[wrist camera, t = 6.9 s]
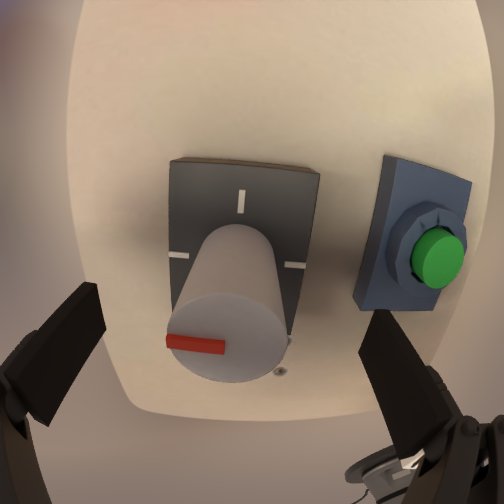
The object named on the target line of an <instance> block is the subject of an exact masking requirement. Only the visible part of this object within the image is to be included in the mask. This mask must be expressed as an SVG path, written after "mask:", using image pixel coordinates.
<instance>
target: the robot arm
mask: <svg viewBox="0 0 504 504" xmlns="http://www.w3.org/2000/svg"><path fill="white" fill-rule="evenodd" d="M105 331H106V325H105V321H104V317H103V313H102V308H101V304H100V299H99V294H98V289H97V284H96V283H90V282H84V283H82V284H81V285H80V286H79V287H78V288H77V289H76V290H75V291H74V292H73V293H72V294H71V295H70V296H69V297H68V298H67V299H66V300H65V301H64V302H63V303H62V304H61V306H60V307H59V308H58V309H57V310H56V311H55V312H54V313H53V314H52V315H51V316H50V317H49V318H48V319H47V321H46V322H45V323H44V324H43V325H42V326H41V327H40V328H39V330H34V331H32V332H31V333H29V334H28V335H26V336H25V337H24V338H23V340H22V341H21V342H20V344H18V345H17V346H16V348H15V350H13V351H12V353H11V354H10V355H9V356H8V357H7V359H6V360H5V361H4V362H3V364H2V365H1V366H0V504H52V502H51V500H50V497H49V495H48V492H47V489H46V486H45V483H44V480H43V477H42V474H41V471H40V468H39V464H38V461H37V457H36V454H35V449H34V446H33V441H32V437H31V432H30V427H29V421H28V419H27V417H26V414H27V413H28V412H29V413H30V414H31V415H32V416H33V418H34V420H36V421H38V422H40V423H42V424H44V425H45V426H47V427H49V425H50V423H51V421H52V419H53V417H54V415H55V413H56V412H57V410H58V408H59V406H60V404H61V402H62V401H63V399H64V397H65V395H66V394H67V392H68V390H69V388H70V387H71V385H72V383H73V382H74V380H75V378H76V377H77V375H78V373H79V372H80V370H81V368H82V367H83V365H84V363H85V362H86V360H87V359H88V357H89V356H90V354H91V352H92V351H93V349H94V348H95V346H96V345H97V343H98V342H99V340H100V338H101V337H102V335H103V334H104V332H105ZM358 354H359V356H360V358H361V361H362V363H363V365H364V368H365V370H366V373H367V375H368V378H369V380H370V383H371V385H372V388H373V390H374V393H375V395H376V398H377V401H378V403H379V406H380V408H381V411H382V414H383V416H384V419H385V422H386V425H387V427H388V430H389V433H390V436H391V438H392V441H393V444H394V447H395V450H396V453H397V455H395V456H393V457H390V458H388V459H386V460H384V461H382V462H380V463H378V464H376V465H374V466H372V467H371V468H369V469H367V470H366V471H365V472H364V473H363V474H362V479H363V482H364V484H365V485H366V486H367V488H368V489H367V490H366V492H365V495H364V496H363V497H362V498H361V499H359V500H358V501H356V502H354V503H352V504H356V503H357V502H359V501H361V500H362V499H363V498H364V497H365V496H366V495H367V492H368V491H370V492H371V493H372V495H373V496H374V497H375V499H376V503H377V504H504V415H499V416H497V417H496V418H495V419H494V420H493V421H492V422H491V423H486V424H479V422H478V421H477V420H476V419H475V418H473V417H471V416H463V415H462V413H461V411H460V409H459V408H458V406H457V404H456V402H455V401H454V399H453V397H452V395H451V394H450V392H449V390H447V387H446V385H445V384H444V383H443V380H442V379H441V377H440V375H439V374H438V372H437V371H435V370H434V369H433V368H432V367H431V366H430V365H429V366H425V365H424V363H423V361H422V360H421V358H420V357H419V355H418V353H417V352H416V350H415V349H414V347H413V346H412V344H411V342H410V341H409V339H408V338H407V336H406V335H405V333H404V332H403V330H402V329H401V327H400V326H399V324H398V323H397V321H396V320H395V318H394V317H393V315H392V314H391V312H390V311H389V309H375V310H374V313H373V316H372V319H371V321H370V324H369V327H368V329H367V332H366V334H365V337H364V339H363V342H362V344H361V347H360V349H359V351H358ZM422 448H423V451H424V453H425V454H423V455H422V456H421V457H420V458H419V459H418V460H417V461H416V462H414V463H413V465H412V466H411V468H413V467H415V466H416V465H417V464H418V463H419V464H418V466H417V468H416V469H403V468H402V465H401V460H403V459H406V458H409V457H413V456H415V455H416V454H417V453H418V452H419V451H420V450H421V449H422ZM487 458H488V461H489V464H488V465H486V466H484V461H485V460H486V459H487Z"/></svg>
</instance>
